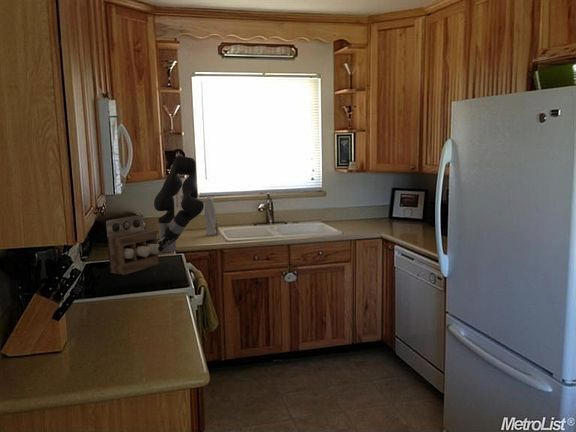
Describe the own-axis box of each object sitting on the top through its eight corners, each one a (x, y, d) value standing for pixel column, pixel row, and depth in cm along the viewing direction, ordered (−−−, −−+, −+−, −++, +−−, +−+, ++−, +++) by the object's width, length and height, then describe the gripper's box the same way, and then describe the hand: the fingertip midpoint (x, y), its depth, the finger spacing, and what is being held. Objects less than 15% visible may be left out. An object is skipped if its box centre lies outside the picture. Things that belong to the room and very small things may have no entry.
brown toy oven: (110, 272, 247) (105, 220, 243) (145, 262, 266) (141, 214, 262) (123, 274, 241) (119, 221, 238) (158, 264, 261) (155, 215, 257)
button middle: (132, 256, 249) (132, 246, 249) (140, 254, 254) (139, 244, 253) (142, 257, 246) (142, 247, 245) (150, 255, 250) (149, 245, 249)
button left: (116, 258, 246) (116, 248, 245) (124, 256, 250) (124, 246, 249) (126, 259, 242) (125, 249, 242) (134, 257, 246) (133, 247, 246)
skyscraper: (208, 236, 339) (205, 195, 335) (203, 235, 346) (200, 195, 342) (219, 235, 344) (217, 194, 340) (214, 233, 350) (212, 194, 346)
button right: (143, 253, 255) (142, 244, 254) (150, 251, 259) (149, 242, 258) (152, 255, 251) (152, 245, 251) (160, 253, 256) (159, 243, 255)
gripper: (181, 220, 250) (165, 242, 259) (161, 224, 239) (145, 247, 247) (189, 231, 248) (173, 253, 257) (170, 235, 237) (153, 258, 245)
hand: (159, 250), depth 252 cm, fingers closed
